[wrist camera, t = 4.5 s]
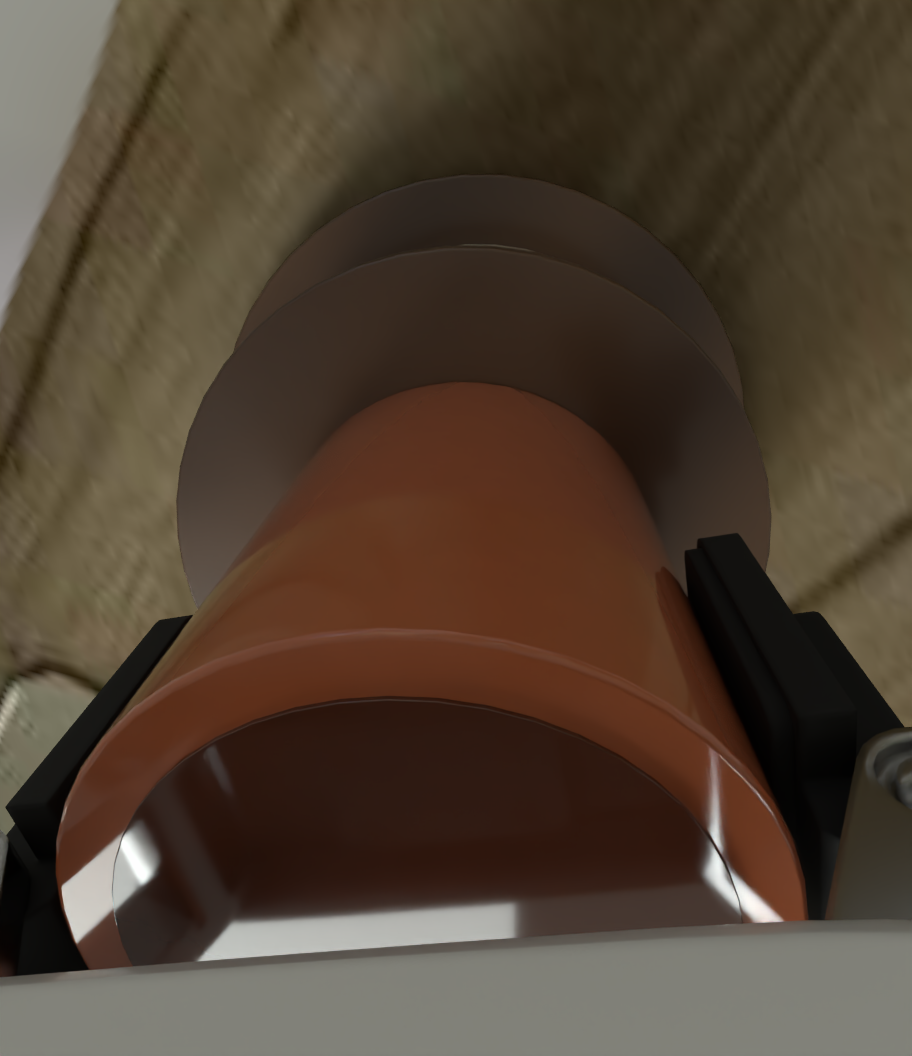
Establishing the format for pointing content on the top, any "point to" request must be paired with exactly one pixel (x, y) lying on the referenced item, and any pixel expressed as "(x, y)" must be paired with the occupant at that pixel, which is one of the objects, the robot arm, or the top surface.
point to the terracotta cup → (429, 717)
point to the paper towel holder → (479, 355)
